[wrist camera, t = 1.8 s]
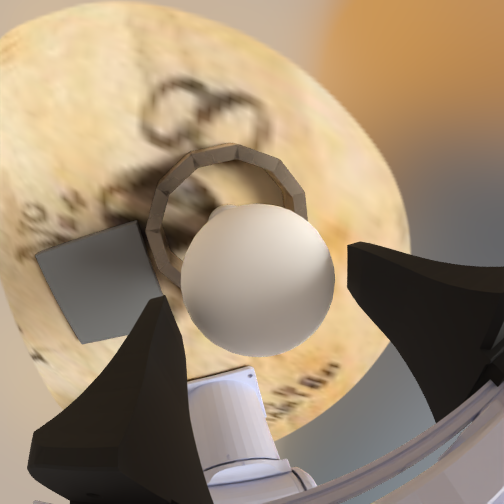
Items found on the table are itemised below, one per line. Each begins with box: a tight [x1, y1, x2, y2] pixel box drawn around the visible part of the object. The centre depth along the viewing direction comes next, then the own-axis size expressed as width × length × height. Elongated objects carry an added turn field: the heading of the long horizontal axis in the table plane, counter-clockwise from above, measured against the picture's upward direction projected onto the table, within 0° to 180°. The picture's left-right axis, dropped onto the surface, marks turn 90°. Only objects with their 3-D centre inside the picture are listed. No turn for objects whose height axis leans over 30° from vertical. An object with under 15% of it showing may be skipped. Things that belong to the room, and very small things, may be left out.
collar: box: [145, 143, 308, 289], centre depth 18 cm, size 10×10×2 cm
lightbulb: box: [181, 203, 335, 357], centre depth 14 cm, size 6×6×11 cm
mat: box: [35, 220, 163, 344], centre depth 18 cm, size 8×8×1 cm
